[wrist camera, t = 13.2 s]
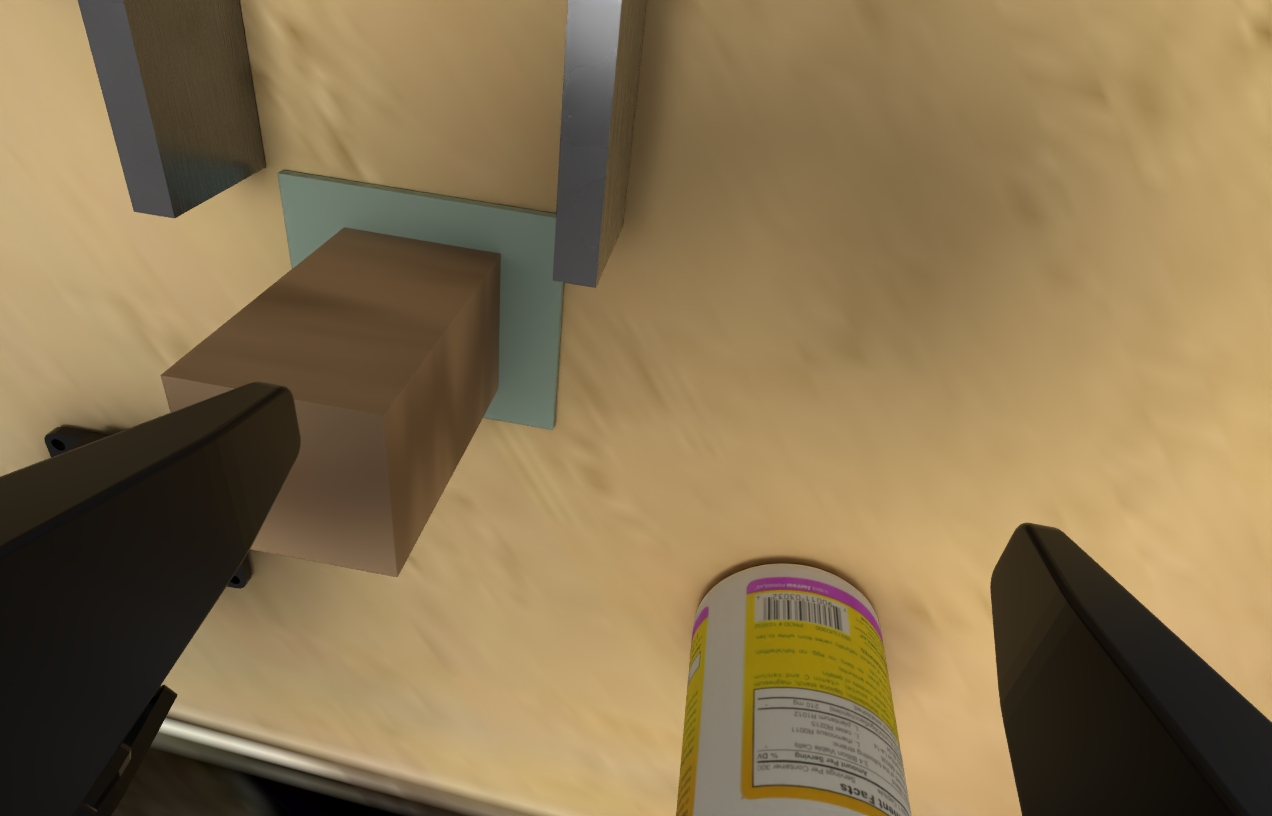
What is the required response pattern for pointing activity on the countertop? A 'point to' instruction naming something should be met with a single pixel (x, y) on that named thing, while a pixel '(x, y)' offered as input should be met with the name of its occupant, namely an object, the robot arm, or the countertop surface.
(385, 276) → the walnut block
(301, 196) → the mat
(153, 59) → the bent rails
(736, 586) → the supplement bottle
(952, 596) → the countertop surface
